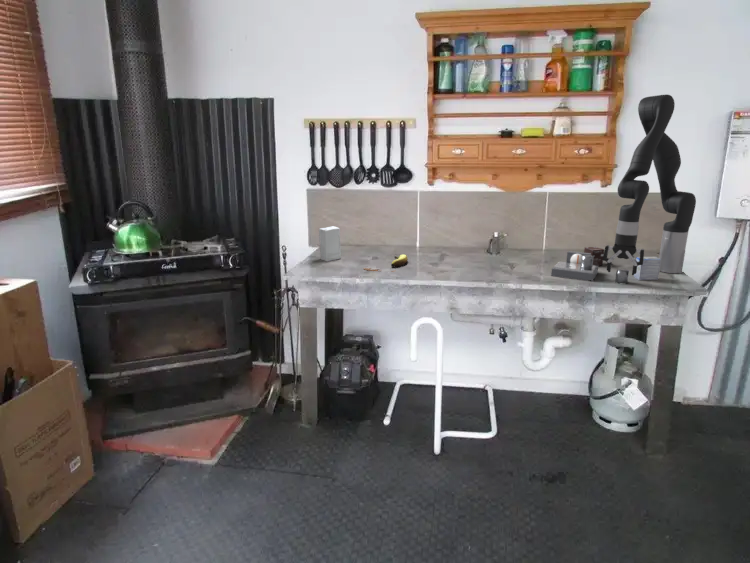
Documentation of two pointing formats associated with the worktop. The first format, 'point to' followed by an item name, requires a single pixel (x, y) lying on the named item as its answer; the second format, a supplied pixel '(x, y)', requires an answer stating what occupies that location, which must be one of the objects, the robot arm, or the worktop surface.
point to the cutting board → (395, 262)
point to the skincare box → (329, 243)
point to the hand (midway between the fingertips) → (620, 273)
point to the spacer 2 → (622, 275)
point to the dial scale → (574, 268)
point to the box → (595, 254)
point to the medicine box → (648, 268)
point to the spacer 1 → (587, 262)
